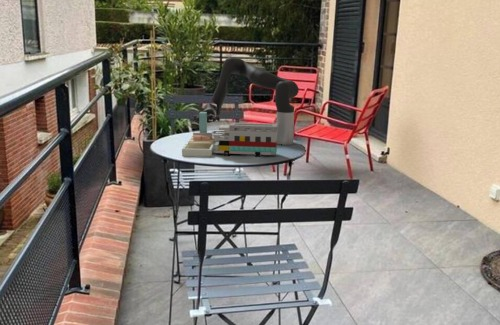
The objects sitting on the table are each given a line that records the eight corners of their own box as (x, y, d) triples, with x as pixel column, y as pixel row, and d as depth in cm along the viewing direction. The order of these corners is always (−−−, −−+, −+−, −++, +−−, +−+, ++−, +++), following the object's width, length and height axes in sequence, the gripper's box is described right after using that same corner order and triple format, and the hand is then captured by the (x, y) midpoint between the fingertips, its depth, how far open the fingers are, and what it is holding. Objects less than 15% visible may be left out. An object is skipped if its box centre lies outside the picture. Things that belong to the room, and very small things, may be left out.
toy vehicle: (215, 151, 246) (215, 121, 242) (276, 153, 243) (277, 123, 240) (213, 155, 238) (212, 124, 235) (275, 157, 236) (276, 126, 232)
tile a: (202, 138, 256) (202, 135, 255) (210, 139, 255) (210, 135, 255) (201, 140, 252) (201, 136, 251) (209, 140, 252) (209, 136, 251)
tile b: (194, 138, 256) (194, 134, 255) (201, 138, 256) (201, 135, 255) (193, 140, 252) (192, 136, 251) (200, 140, 252) (200, 136, 251)
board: (193, 142, 265) (193, 135, 264) (215, 143, 265) (215, 135, 264) (187, 150, 248) (187, 142, 247) (211, 150, 247) (211, 143, 246)
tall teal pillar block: (194, 136, 262) (193, 111, 258) (213, 136, 261) (213, 112, 258) (193, 138, 257) (192, 113, 254) (212, 138, 257) (212, 113, 254)
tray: (185, 150, 247) (185, 144, 246) (213, 151, 247) (213, 144, 246) (182, 155, 237) (181, 149, 236) (211, 156, 236) (211, 149, 235)
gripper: (196, 108, 283) (192, 112, 267) (221, 108, 282) (218, 113, 267) (196, 121, 285) (192, 126, 269) (221, 121, 284) (218, 126, 268)
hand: (205, 119), depth 268 cm, fingers open, 8 cm apart
